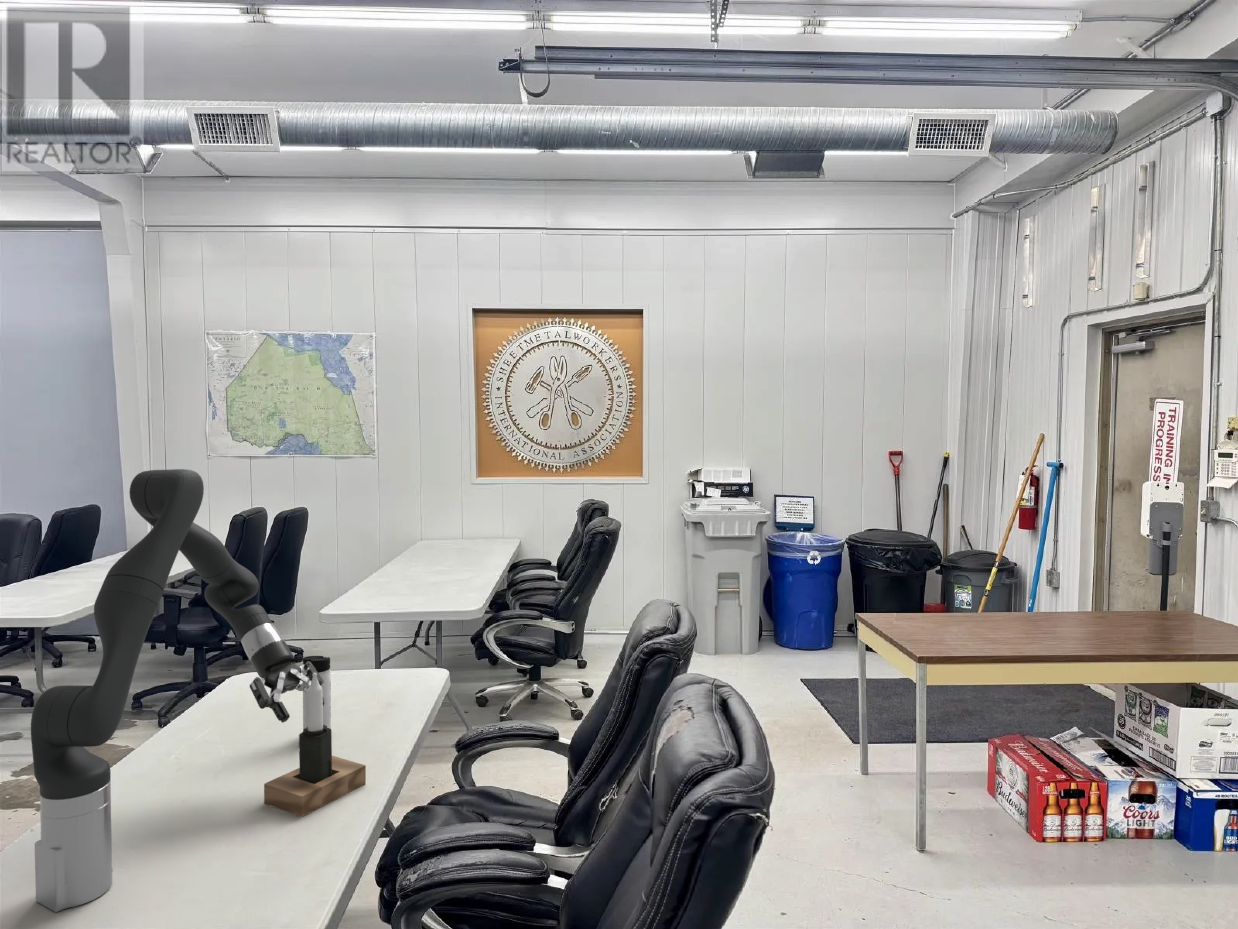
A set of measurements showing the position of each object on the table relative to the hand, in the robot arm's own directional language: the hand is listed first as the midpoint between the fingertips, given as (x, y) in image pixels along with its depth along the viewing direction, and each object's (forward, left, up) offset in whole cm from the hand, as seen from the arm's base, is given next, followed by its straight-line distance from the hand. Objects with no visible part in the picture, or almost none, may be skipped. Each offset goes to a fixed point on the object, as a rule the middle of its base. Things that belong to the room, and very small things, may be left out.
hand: (304, 713), depth 159 cm
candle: (0, -3, -16) cm, 17 cm away
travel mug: (+20, +20, -16) cm, 32 cm away
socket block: (0, -4, -16) cm, 16 cm away
